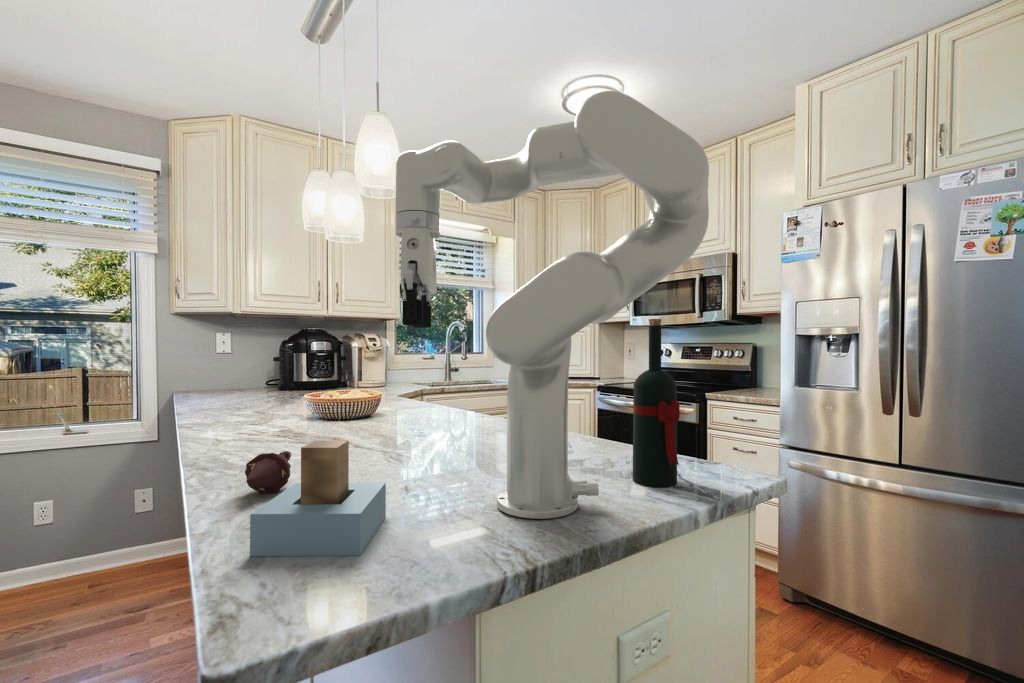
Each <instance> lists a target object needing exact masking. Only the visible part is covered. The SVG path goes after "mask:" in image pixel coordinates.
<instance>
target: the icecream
mask: <svg viewBox="0 0 1024 683" xmlns="http://www.w3.org/2000/svg"><path fill="white" fill-rule="evenodd" d="M291 458H292V453H291V451H288V450H284V451H281V452H280V453H275V452H268V453H259V454H257V455H256V456H255V457H254V458H253V459H251V460H249V461H248V462H246V464H245V468H246V469H245V470H244V474H245V476H246V483H247V486H248V487H249V488H250V489H252V490H254V491H256V492H257V493H258V494H260V495H267V494H277V493H278V492H279V491H280V490H282V488H283V487H284V486H285V485H287V484H288V482H289V479H290V477H291V467H292V466H291V464H290V463H289V460H290V459H291Z"/></svg>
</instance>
